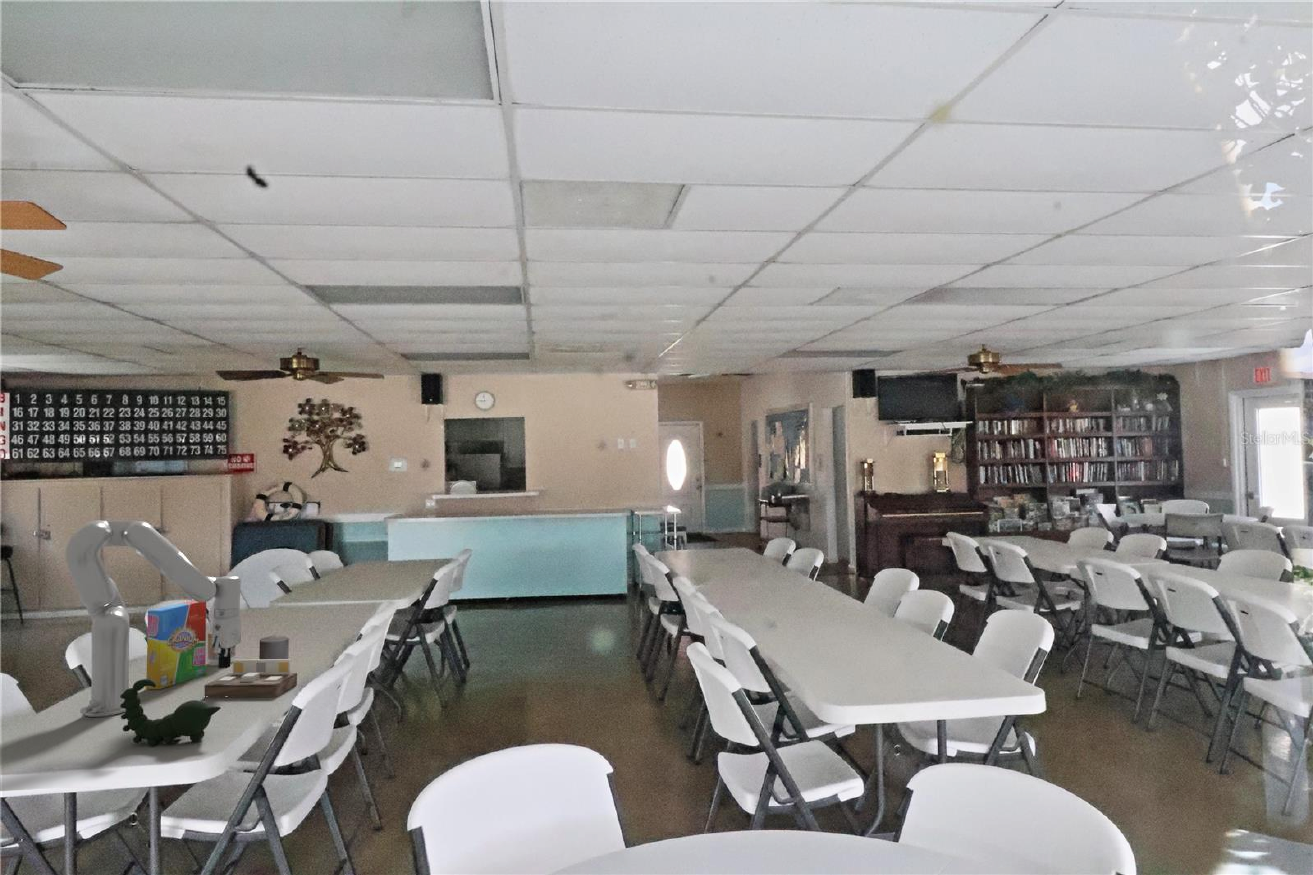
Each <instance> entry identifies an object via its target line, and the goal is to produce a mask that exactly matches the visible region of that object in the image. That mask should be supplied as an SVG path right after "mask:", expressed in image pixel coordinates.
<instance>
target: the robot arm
mask: <svg viewBox="0 0 1313 875" xmlns="http://www.w3.org/2000/svg"><path fill="white" fill-rule="evenodd" d="M104 547H129V548H130V549H132V550H133V551H134V552H135V553H136V554H137V555H139V556H140V557H141V558H142V559H144V560H145V561H146V562H147V563H148V564H150V565H151V566H152V568H154V569H155V570H157V571H158V572H159V573H160V574H161V575H162V576H164V577H166V578H167V579H168V580H170V581H171V582H172V583H173V584H174V585H175V586H177V587H178V588H179V589H180V590H181V591H182V592H184V593H185V594H186V595H187V596H188V597H190V598H191V599H192V601H194V600H195V601H197V602H206V603H207V602H208V601H209V602H210V601H211V600H212V599H213V598H214V600H215V608H214V624H213V630H212V648H214V653H218V657H219V663H218V665H217V667H218V669H228V668H230V667H231V664H232V663H231V654H232V649H233V648H234V647H235V648H236V646H237V645H240V643H242V642H241V641H242V623H241V621H242V620H241V616H240V611H241V610H240V609H241V608H240V607H241V602H240V601H241V589H242V588H241V586H242V581H241V580H242V579H241V577H239V576H236V575H227V576H225V575H224V576H219V577H217V576H216V577H215V576H206V575H205V574H203V573H202V572H201V571H200V570H199V569H198V568H197V567H196V566H194V564H192V563H191V562H190V561H189V559H188V558H187V557H186V555H185V554H183V552H182V551H181V550H179V549H178V548H177V547H176V546H175V545H174V544H172V543H171V542H170V541H169V540H168V539H167V538H166V537H164V536H163V535H162V534H160V532H158V530H156V529H155V528H154V527H153V526H152V525H151V524H150V523H148V522H147V521H144V520H143V521H142V520H104V519H102V520H101V519H100V520H98V519H97V520H91V521H89V522H87V523H85V524H84V525H83V526H82V527H80V528H79V529H78V530H77V531H76V532H75V533H74V534H73V536H72V537H71V538H70V539H69V541H68V542H67V545H66V547H65V556H64V558H65V562H66V566H67V568H68V572H69V573H70V577H71V578H72V579H71V580H72V582H73V584H74V586H75V589H76V591H77V595H78V598H79V601H80V603H81V604H82V605H83V606H85V608H86V610H87V613H88V615H89V617H90V620H91V622H92V623H91V624H92V625H91V632H90V633H91V692H90V693H91V697H90V698H91V700H89V701H88V702H89V704H88V706H87V705H86V706H85V707H82V708H81V709H80V710H79V711H80V714H81V715H85V716H86V717H91V718H100V717H101V718H102V717H108V716H109V717H110V716H115V715H118V714H124V713H125V711H126V709H125V708H121V707H120V705H121V704H122V703H124V701H125V700H124V699H122V698H120V696H121V694H123V693H124V692H125V691H126V690H127V689H129V687H130V686H129V682H130V678H129V677H130V676H129V675H130V669H129V668H130V658H129V657H130V627H131V626H130V614H129V612H128V610H127V607H126V604H125V603H124V600H123V598H122V596H121V593H120V590H119V588H118V587H117V584H116V582H115V581H114V580H113V579H112V578H110V576H109V575H108V573H107V571H106V568H105V564H104V563H103V560H102V559H101V555H100V552H101V549H102V548H104Z"/></svg>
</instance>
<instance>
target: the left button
mask: <svg viewBox="0 0 1313 875" xmlns="http://www.w3.org/2000/svg"><path fill="white" fill-rule="evenodd" d="M220 678H221V677H220ZM218 679H219V678H218ZM235 679H236V677H224V678H221V679H219V680H218V682H231V681H233V680H235Z"/></svg>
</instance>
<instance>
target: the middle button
mask: <svg viewBox="0 0 1313 875" xmlns="http://www.w3.org/2000/svg"><path fill="white" fill-rule="evenodd" d="M258 679H259V673H247V674H245V675H243V676H241V682H254V681H256V680H258Z"/></svg>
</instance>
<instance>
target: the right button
mask: <svg viewBox="0 0 1313 875" xmlns="http://www.w3.org/2000/svg"><path fill="white" fill-rule="evenodd" d="M281 679H283V676H271V677H269V678H267V679H265V682H277V681H279V680H281Z"/></svg>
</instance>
